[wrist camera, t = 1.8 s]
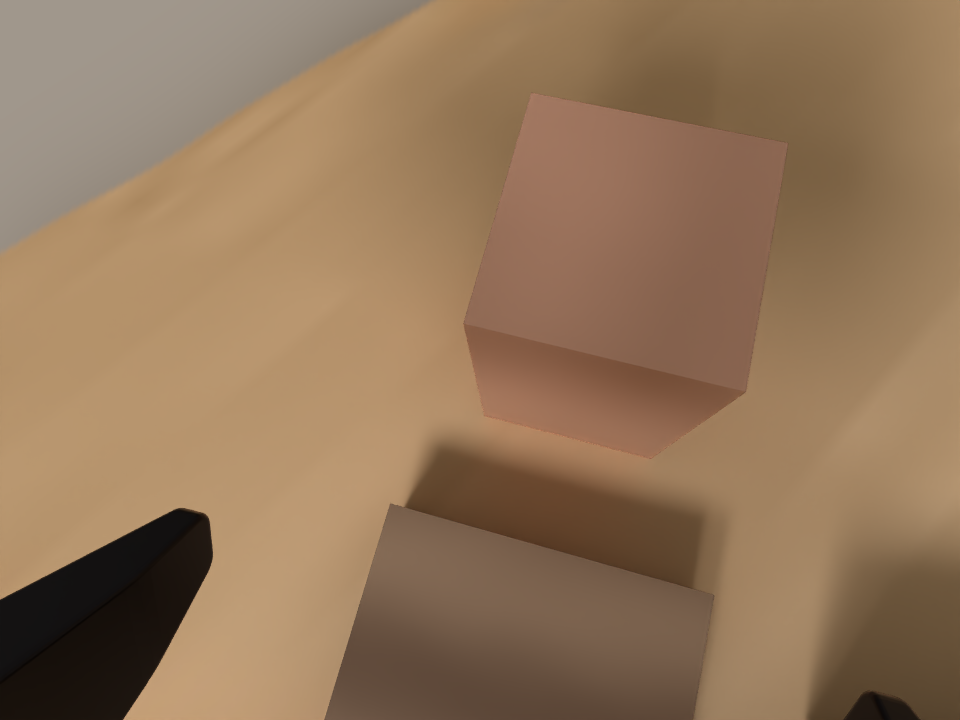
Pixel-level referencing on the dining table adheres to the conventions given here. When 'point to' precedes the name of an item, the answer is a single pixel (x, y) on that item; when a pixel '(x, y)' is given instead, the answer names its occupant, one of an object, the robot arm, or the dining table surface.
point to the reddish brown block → (622, 275)
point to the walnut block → (514, 633)
